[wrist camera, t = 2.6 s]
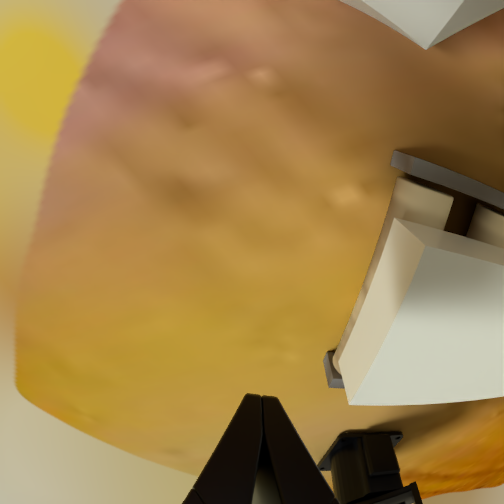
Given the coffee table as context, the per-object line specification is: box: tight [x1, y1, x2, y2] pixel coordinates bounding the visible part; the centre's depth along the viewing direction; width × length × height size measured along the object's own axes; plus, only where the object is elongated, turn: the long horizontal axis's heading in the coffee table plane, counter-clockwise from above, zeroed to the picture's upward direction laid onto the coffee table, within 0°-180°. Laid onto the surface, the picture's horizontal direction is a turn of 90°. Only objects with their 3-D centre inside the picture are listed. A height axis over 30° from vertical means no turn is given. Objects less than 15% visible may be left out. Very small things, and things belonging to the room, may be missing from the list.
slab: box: [338, 218, 504, 405], centre depth 13 cm, size 8×16×3 cm, turn 80°
